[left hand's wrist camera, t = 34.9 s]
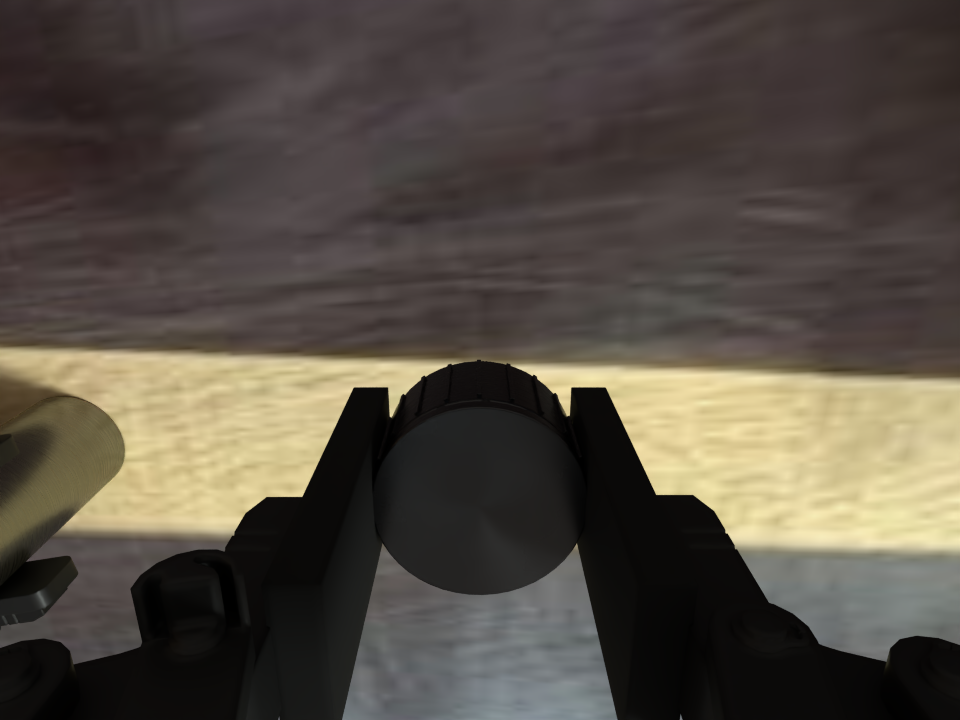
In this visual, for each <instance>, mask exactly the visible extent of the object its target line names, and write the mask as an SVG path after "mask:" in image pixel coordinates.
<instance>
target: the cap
mask: <svg viewBox="0 0 960 720" xmlns="http://www.w3.org/2000/svg"><path fill="white" fill-rule="evenodd" d="M581 460H583V456H582V453H581V450H580V447H579V444H578V441H577V437H576V434H575V431H574V428H573V425H572V421H571V418H570V416H566V413H565V411H564V409H563V407H562V406H561V404H560V402H559V399H558V396H557V394H556V393H554V394H553V393H552V392H551V391H550V390H549V389H548V388H547V387H546V386H545V385H544V384H543V383H541V382H540V381H539V380H538V379H537V376H535V375H533V376H531V375H530V374H528V373H526V372H524V371H522V370H520V369H517V368H515V367H512V366H511V365H510V364H508V363H507V364H506V365H505V364H501V363H495V362H487V361H485V362H484V361H481V360H477V361H474V362H464V363H459V364H454V365H452V364H448V366H447V367H444V368H442V369H440V370H438V371H435V372H433V373H431V374H429V375H428V376H426V377H425V376H423V377H421V380H420V381H419V382H418V383H417V384H416V385H414V386H413V387H412V388H411V389H410V390H409V391H408V392H407V394H406V395H404V394H403V395H402V396H401V399H400V402H399V404H398V406H397V408H396V410H395V412H394V414H393V416H392V418H391V417H389V419H388V422H387V426H386V429H385V432H384V436H383V439H382V442H381V446H380V449H379V452H378V456H377V459H376V461H378V462H379V464H378V467H377V471H376V474H375V477H374V481H373V485H372V492H373V509H374V523H375V527H376V530H377V533H378V535H379V537H380V539H381V541H382V543H383V544H384V546H385V547H386V549H387V550H388V552H389V553H390V554H391V556H392V557H393V558H394V559H395V560H396V561H397V562H398V563H399V564H400V565H401V566H402V567H403V568H404V569H406V570H407V571H408V572H409V573H411V574H412V575H414V576H415V577H417V578H418V579H420V580H422V581H424V582H426V583H428V584H430V585H433V586H435V587H438V588H441V589H443V590H447V591H451V592H455V593H462V594H469V595H488V594H498V593H503V592H509V591H512V590H516V589H519V588H522V587H524V586H527V585H529V584H531V583H534V582H536V581H537V580H539V579H541V578H543V577H544V576H546V575H547V574H549V573H550V572H551V571H553V570H554V569H555V568H556V567H557V566H559V565H560V564H561V563H562V562H563V561H564V560H565V559H566V557H567V556H568V555H569V554H570V553H571V551H572V550H573V548H574V547H575V545H576V544H577V542H578V540H579V538H580V536H581V534H582V531H583V529H584V526H585V515H586V499H587V481H586V477H585V473H584V470H583V467H582V463H581Z"/></svg>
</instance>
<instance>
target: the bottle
mask: <svg viewBox="0 0 960 720" xmlns="http://www.w3.org/2000/svg"><path fill="white" fill-rule="evenodd" d="M2 434H11V435H12V437H13V439H14V441H15V443H16V445H17V447H18V449H19V451H20V453H19V454H18V455H17V456H15V457H14V458H13V459H11V460H10V461H8V462H7V463H6V464H4V465H3V466H1V467H0V586H1V585H2V584H3V583H4V582H5V581H6V580H7V579H8V578H9V577H10V576H11V575H12V574H13V573H14V572H15V571H16V570H17V569H19V568H20V567H21V566H22V565H23V564H24V563H25V562H26V561H27V560H28V559H29V558H30V557H31V556H32V555H33V554H34V553H35V552H36V551H37V550H38V549H39V548H40V547H41V546H43V545H44V544H45V543H46V542H47V541H48V540H49V539H50V538H51V537H52V536H53V535H54V534H55V533H56V532H57V531H58V530H59V529H60V528H61V527H62V526H63V525H64V524H65V523H67V522H68V521H69V520H70V519H71V518H72V517H73V516H74V515H75V514H76V513H77V512H78V511H79V510H80V509H81V508H82V507H83V506H84V505H85V504H86V503H87V502H88V501H89V500H90V499H92V498H93V497H94V496H95V495H96V494H97V493H98V492H99V491H100V490H101V489H102V488H103V487H104V486H105V485H106V484H107V483H108V482H109V481H110V480H111V479H112V478H113V477H114V476H115V475H116V474H117V473H118V472H119V470H120V469H121V467H122V464H123V461H124V457H125V447H124V441H123V438H122V435H121V433H120V431H119V429H118V427H117V426H116V424H115V423H114V422H113V420H112V419H111V418H110V417H109V416H108V415H107V414H106V413H105V412H103V411H102V410H101V409H99V408H98V407H96V406H95V405H93V404H91V403H89V402H86V401H84V400H81V399H78V398H73V397H52V398H48V399H45V400H42V401H40V402H38V403H37V404H35V405H34V406H32V407H31V408H29V409H27V410H26V411H24V412H23V413H21V414H19V415H18V416H16V417H15V418H13V419H12V420H10V421H8V422H7V423H5V424H4V425H2V426H0V435H2Z"/></svg>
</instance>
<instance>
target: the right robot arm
mask: <svg viewBox="0 0 960 720" xmlns="http://www.w3.org/2000/svg"><path fill="white" fill-rule="evenodd" d="M19 453H20V451H19V449H18V447H17V445H16V443H15V441H14V439H13V437H12V435H11V434H2V435H0V467H1V466H3V465H4V464H6V463H7V462H8V461H10V460H11V459H13V458H14V457H15V456H17V455H18V454H19ZM77 575H78V571H77V569H76V567H75V565H74V563H73V561H72V559H71V557H70V556H62V557H55V558H48V559H42V560H35V561H29V562H25V563H24V564H23V565H22V566H21V567H20V568H19V569H17V570H16V571H15V572H14V573H13V574H12V575H11V576H10V577H9V578H8V579H7V580H6V581H5V582H4V583H3V584H2V585H1V586H0V629H1V626H4V625H7V624H9V625H11V624H17V623H25V622H32V621H35V620H36V619H38V618H40V617H42V616H43V615H45V613H46V612H47V611H48V610H49V609H50V608H51V607H52V606H53V605H54V603H55V602H56V601H57V600H58V599H59V598H60V597H61V596H62V594H63V593H64V592H65V591H66V590H67V589H68V588H67V587H68V586H69V585H70V583H71V582H72V581H73V580H74V579H75V578H76V577H77Z"/></svg>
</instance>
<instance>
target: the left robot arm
mask: <svg viewBox="0 0 960 720" xmlns="http://www.w3.org/2000/svg"><path fill="white" fill-rule="evenodd" d="M389 417H390V415H389V395H388V387H369V388H353V391H352V393H351V395H350V397H349V399H348V401H347V403H346V405H345V408H344V410H343V412H342V414H341V416H340V418H339V420H338V422H337V425H336V427H335V429H334V431H333V433H332V435H331V437H330V439H329V442H328V444H327V446H326V448H325V450H324V452H323V454H322V456H321V459H320V461H319V463H318V465H317V467H316V469H315V471H314V473H313V476H312V478H311V480H310V482H309V484H308V486H307V488H306V490H305V493H304V495H303V497H266V498H265V499H264V500H262V501H261V502H260V503H258V504H257V505H256V506H255V507H253V508H252V509H251V510H249V511H248V512H247V513H246V514H245V515H244V517H243V519H242V520H241V522H240V524H239V525H238V527H237V529H236V530H235V534H234V536H232V537H231V539H230V540H229V542H228V544H227V546H226V547H225V552H224V551H220V550H194V551H190V552H185V553H181V554H177V555H174V556H172V557H170V558H168V559H165V560H163V561H161V562H158V563H156V564H155V565H154V566H152V567H151V568H150V569H148V570H147V571H146V572H144V573H143V574H141V575H140V576H139V578H138V579H137V581H136V582H135V583H134V585H133V586H132V587H131V594H132V598H133V603H134V607H135V612H136V616H137V620H138V625H139V629H140V634H141V638H142V644H141V647H139V648H136V649H133V650H130V651H127V652H123V653H120V654H116V655H112V656H108V657H104V658H99V659H95V660H91V661H86V662H82V663H78V664H73V661H72V657H71V653H70V651H69V650H68V649H67V648H66V647H65V646H64V645H63V644H62V643H61V642H58V641H53V640H48V639H35V640H26V641H20V642H17V643H14V644H11V645H8V646H5V647H2V648H0V720H278V718H279V717H280V720H342V717H343V713H344V708H345V704H346V700H347V695H348V691H349V687H350V682H351V678H352V674H353V669H354V665H355V661H356V656H357V652H358V647H359V643H360V639H361V634H362V630H363V626H364V621H365V617H366V613H367V608H368V604H369V600H370V595H371V591H372V586H373V582H374V578H375V573H376V569H377V565H378V560H379V556H380V552H381V547H382V541H381V539H380V537H379V535H378V533H377V530H376V527H375V523H374V509H373V492H372V485H373V481H374V477H375V474H376V471H377V467H378V464H379V462H378V461H376V459H377V456H378V452H379V449H380V446H381V442H382V439H383V436H384V432H385V429H386V426H387V422H388V419H389ZM570 418H571V421H572V425H573V428H574V431H575V434H576V437H577V441H578V444H579V447H580V450H581V453H582V456H583V460H581V463H582V467H583V470H584V473H585V477H586V481H587V499H586V515H585V526H584V529H583V531H582V534H581V536H580V538H579V540H578V542H577V545H578V549H579V554H580V558H581V562H582V567H583V571H584V575H585V580H586V584H587V588H588V593H589V597H590V601H591V606H592V610H593V615H594V619H595V623H596V628H597V632H598V636H599V641H600V645H601V649H602V654H603V658H604V662H605V667H606V671H607V676H608V680H609V684H610V689H611V693H612V697H613V702H614V706H615V710H616V715H617V719H618V720H680V713H681V716H682V719H683V720H960V645H958V644H955V643H952V642H949V641H946V640H943V639H939V638H932V637H923V636H913V637H908V638H903V639H900V640H898V641H897V642H896V643H895V644H894V645H893V646H892V647H891V648H890V651H889V655H888V659H887V662H885V661H881V660H876V659H872V658H868V657H864V656H859V655H855V654H851V653H846V652H842V651H839V650H835V649H832V648H829V647H826V646H823V645H820V644H819V643H818V641H817V639H816V638H815V636H814V635H813V633H812V631H811V630H810V628H809V627H808V626H807V625H806V624H805V623H803V622H802V621H801V620H800V619H799V618H797V617H796V616H795V615H794V614H792V613H790V612H788V611H786V610H784V609H782V608H780V607H778V606H776V605H774V604H771V603H769V602H768V600H767V599H766V597H765V595H764V594H763V592H762V590H761V589H760V587H759V585H758V584H757V582H756V580H755V579H754V577H753V575H752V574H751V572H750V570H749V569H748V567H747V565H746V564H745V562H744V560H743V559H742V557H741V555H740V554H739V552H738V550H737V549H735V545H734V544H733V542H732V540H731V539H730V537H729V535H728V534H726V533H725V529H724V527H723V525H722V524H721V522H720V520H719V519H718V517H717V515H716V514H715V512H714V511H713V510H712V509H711V508H709V507H708V506H707V505H705V504H704V503H703V502H701V501H700V500H699V499H697V498H696V497H695V496H694V495H656V494H655V491H654V489H653V487H652V485H651V483H650V481H649V479H648V477H647V474H646V472H645V470H644V468H643V466H642V464H641V462H640V460H639V457H638V455H637V453H636V451H635V449H634V447H633V445H632V443H631V440H630V438H629V436H628V434H627V432H626V430H625V428H624V426H623V423H622V421H621V419H620V417H619V415H618V413H617V411H616V409H615V406H614V404H613V402H612V400H611V398H610V396H609V394H608V392H607V389H606V388H571V406H570Z"/></svg>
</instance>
